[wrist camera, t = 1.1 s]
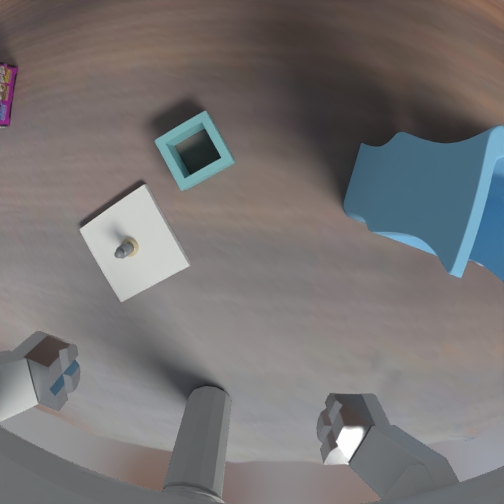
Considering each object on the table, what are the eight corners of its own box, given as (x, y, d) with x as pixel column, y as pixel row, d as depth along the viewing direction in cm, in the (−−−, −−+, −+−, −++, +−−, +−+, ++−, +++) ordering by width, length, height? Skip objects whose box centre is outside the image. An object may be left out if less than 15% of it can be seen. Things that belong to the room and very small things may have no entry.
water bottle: (181, 384, 46) (139, 514, 21) (229, 380, 45) (210, 520, 21) (197, 423, 48) (170, 543, 23) (241, 420, 47) (232, 547, 23)
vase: (339, 214, 39) (448, 275, 14) (360, 142, 36) (490, 112, 12) (402, 236, 39) (531, 307, 15) (422, 169, 37) (566, 181, 12)
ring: (210, 116, 36) (205, 110, 32) (236, 162, 37) (233, 161, 33) (164, 143, 37) (154, 140, 33) (188, 188, 38) (181, 190, 34)
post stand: (146, 184, 38) (131, 185, 33) (191, 263, 41) (182, 276, 35) (82, 228, 40) (63, 235, 35) (123, 299, 42) (109, 314, 37)
